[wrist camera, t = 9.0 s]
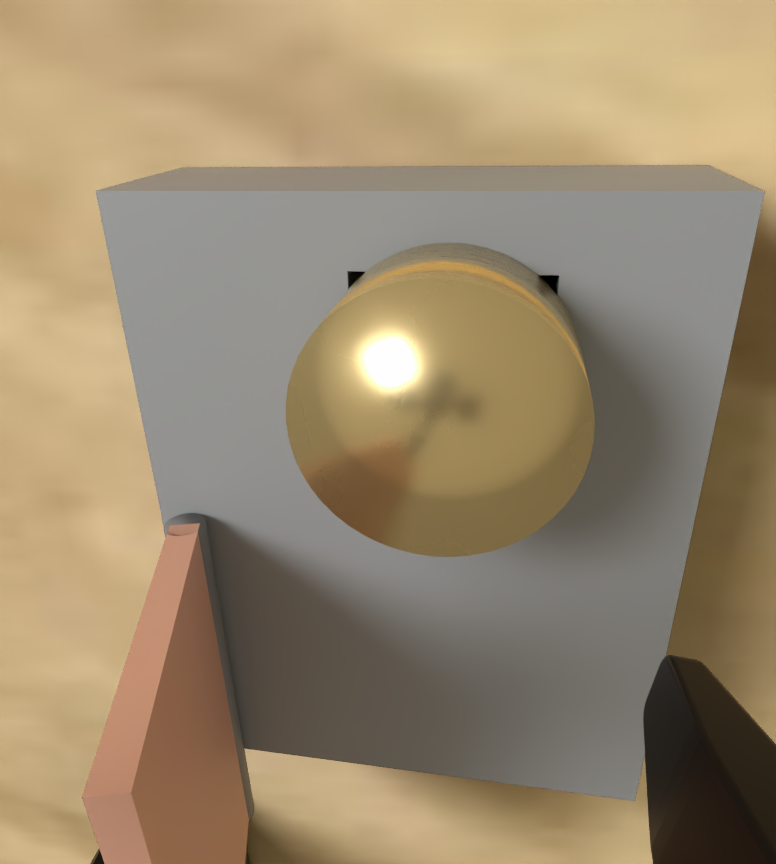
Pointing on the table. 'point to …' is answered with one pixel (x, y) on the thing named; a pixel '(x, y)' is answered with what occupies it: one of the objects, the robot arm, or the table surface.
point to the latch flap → (174, 725)
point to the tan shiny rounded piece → (443, 403)
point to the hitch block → (419, 574)
